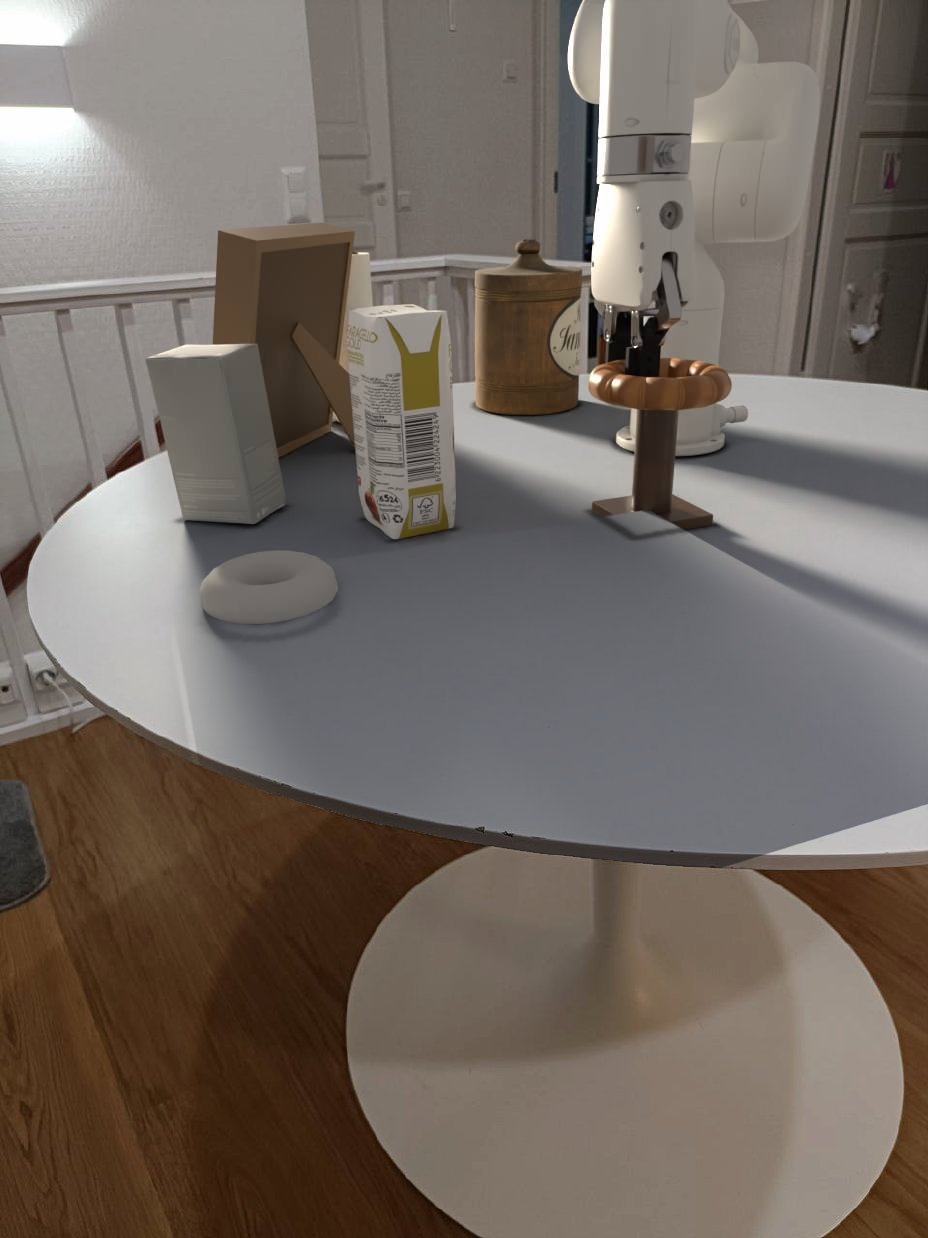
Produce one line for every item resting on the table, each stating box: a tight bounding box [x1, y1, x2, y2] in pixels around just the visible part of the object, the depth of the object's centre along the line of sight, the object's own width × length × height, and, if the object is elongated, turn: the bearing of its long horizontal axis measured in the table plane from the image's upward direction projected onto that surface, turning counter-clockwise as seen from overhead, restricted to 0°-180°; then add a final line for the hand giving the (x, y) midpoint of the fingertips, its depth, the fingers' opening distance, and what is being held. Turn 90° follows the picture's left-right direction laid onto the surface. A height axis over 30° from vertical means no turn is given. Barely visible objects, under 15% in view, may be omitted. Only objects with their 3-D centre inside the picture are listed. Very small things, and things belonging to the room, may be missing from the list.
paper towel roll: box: [333, 250, 374, 423], centre depth 116 cm, size 7×6×21 cm
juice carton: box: [347, 303, 457, 540], centre depth 78 cm, size 8×9×19 cm
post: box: [591, 409, 714, 530], centre depth 79 cm, size 8×8×11 cm
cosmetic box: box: [145, 344, 287, 525], centre depth 82 cm, size 8×7×16 cm
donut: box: [199, 550, 339, 625], centre depth 65 cm, size 10×4×10 cm
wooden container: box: [474, 238, 583, 416], centre depth 122 cm, size 15×15×22 cm
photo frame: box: [212, 222, 356, 459], centre depth 100 cm, size 15×22×25 cm
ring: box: [587, 358, 733, 410], centre depth 76 cm, size 12×12×3 cm
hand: (630, 386), depth 81 cm, fingers closed on ring, 2 cm apart
